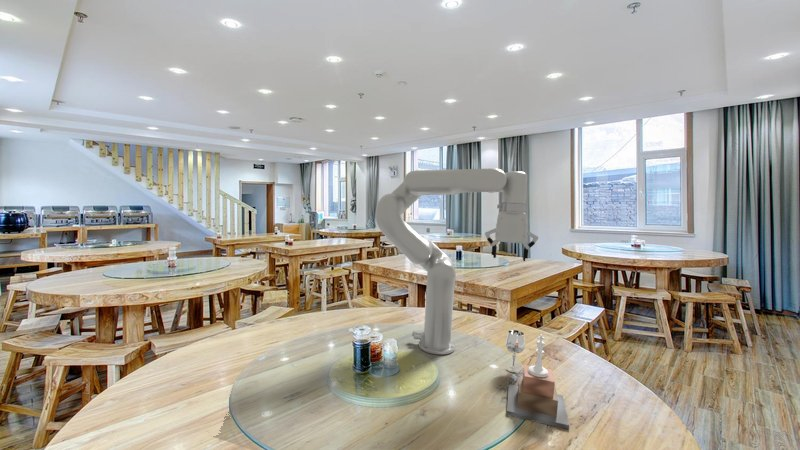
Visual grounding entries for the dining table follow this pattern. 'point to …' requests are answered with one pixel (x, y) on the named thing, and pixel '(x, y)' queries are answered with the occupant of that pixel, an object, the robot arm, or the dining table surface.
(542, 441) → the dining table surface
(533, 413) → the stepped pedestal
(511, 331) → the wineglass
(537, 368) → the chess piece
